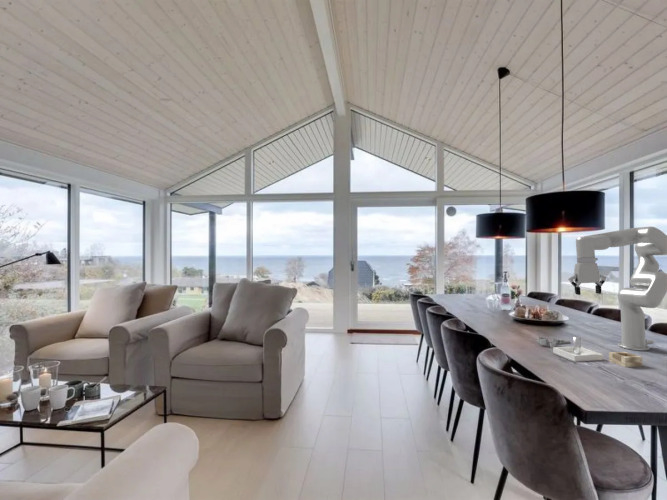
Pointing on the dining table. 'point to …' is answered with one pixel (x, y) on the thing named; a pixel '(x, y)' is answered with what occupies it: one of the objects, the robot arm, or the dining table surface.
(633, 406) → the dining table surface
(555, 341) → the pulley system
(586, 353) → the tray
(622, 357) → the tan hollow square block
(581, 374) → the dining table surface
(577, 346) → the pin
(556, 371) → the dining table surface
